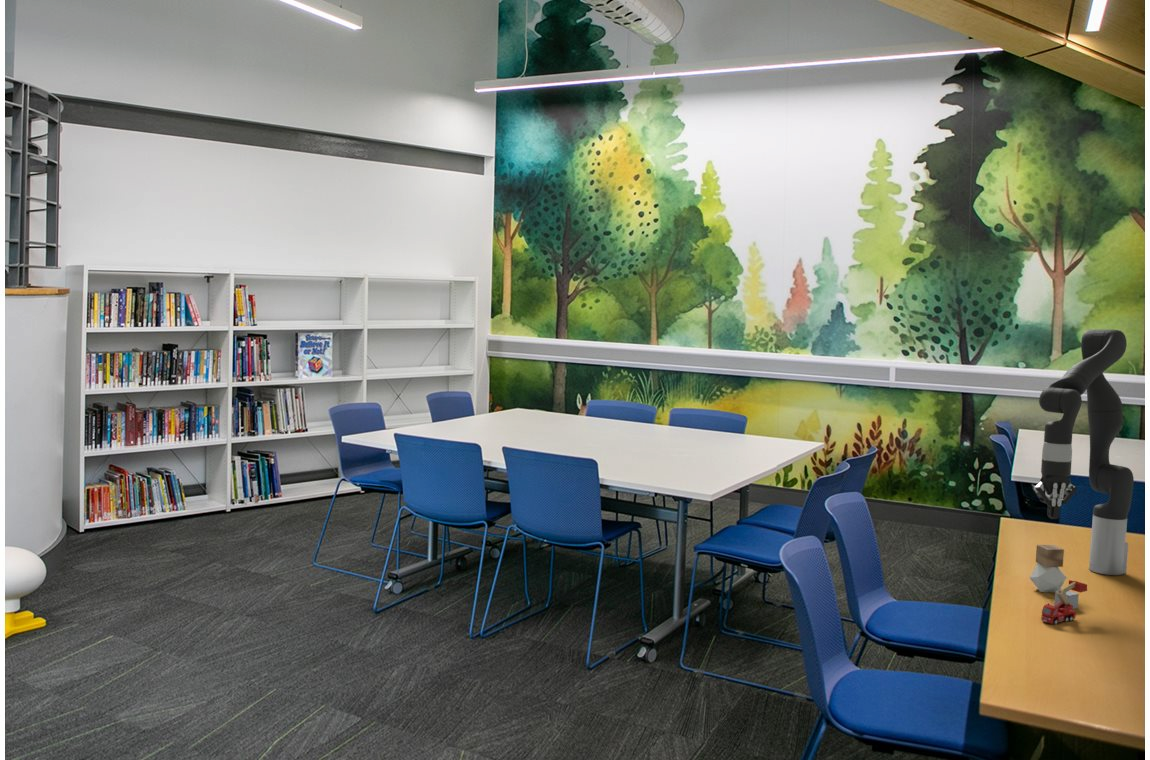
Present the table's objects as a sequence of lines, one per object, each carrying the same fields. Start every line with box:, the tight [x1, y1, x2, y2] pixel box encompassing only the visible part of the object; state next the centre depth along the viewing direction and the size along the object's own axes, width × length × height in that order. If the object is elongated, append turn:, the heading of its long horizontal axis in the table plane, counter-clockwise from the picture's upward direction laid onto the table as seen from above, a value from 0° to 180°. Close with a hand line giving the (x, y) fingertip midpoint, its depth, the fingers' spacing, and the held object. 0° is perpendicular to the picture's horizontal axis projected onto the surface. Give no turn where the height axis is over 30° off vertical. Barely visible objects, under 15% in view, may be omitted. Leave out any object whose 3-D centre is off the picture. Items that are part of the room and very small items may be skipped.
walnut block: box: [1035, 544, 1065, 568], centre depth 269 cm, size 5×5×5 cm
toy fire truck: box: [1040, 579, 1088, 625], centre depth 244 cm, size 3×14×10 cm, turn 118°
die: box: [1029, 562, 1068, 593], centre depth 269 cm, size 8×9×10 cm
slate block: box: [1054, 590, 1079, 610], centre depth 255 cm, size 4×4×4 cm
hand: (1052, 518), depth 268 cm, fingers closed
